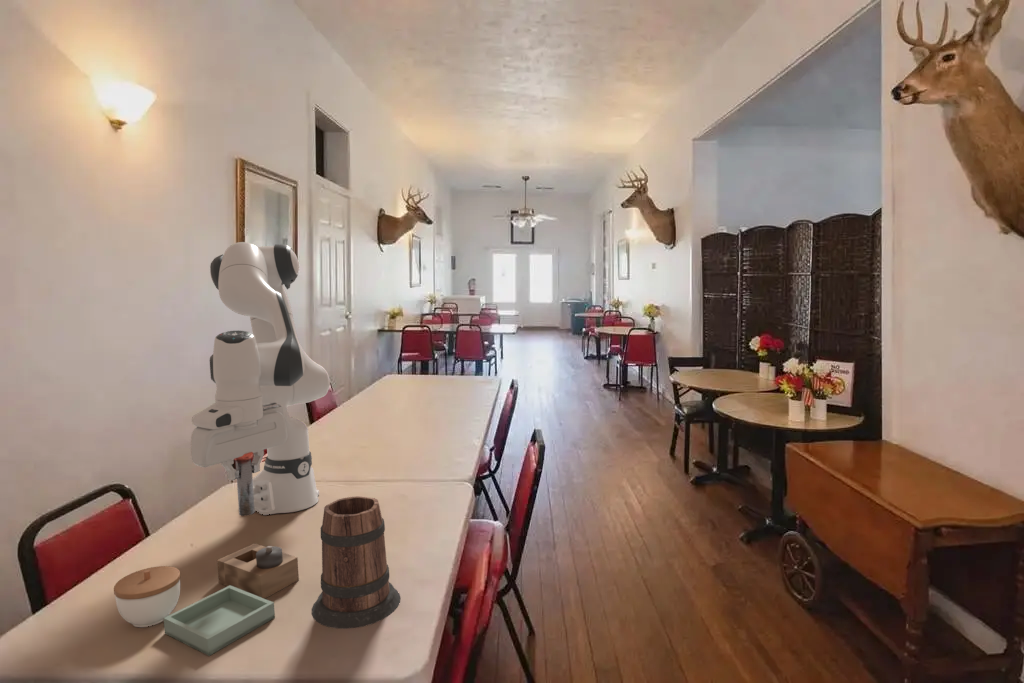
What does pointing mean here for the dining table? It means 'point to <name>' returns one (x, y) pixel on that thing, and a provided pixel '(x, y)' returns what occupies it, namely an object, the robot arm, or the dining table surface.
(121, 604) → the lidded jar
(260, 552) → the block
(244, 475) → the lock pin
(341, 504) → the tankard
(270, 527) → the dining table surface
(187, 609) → the tray
